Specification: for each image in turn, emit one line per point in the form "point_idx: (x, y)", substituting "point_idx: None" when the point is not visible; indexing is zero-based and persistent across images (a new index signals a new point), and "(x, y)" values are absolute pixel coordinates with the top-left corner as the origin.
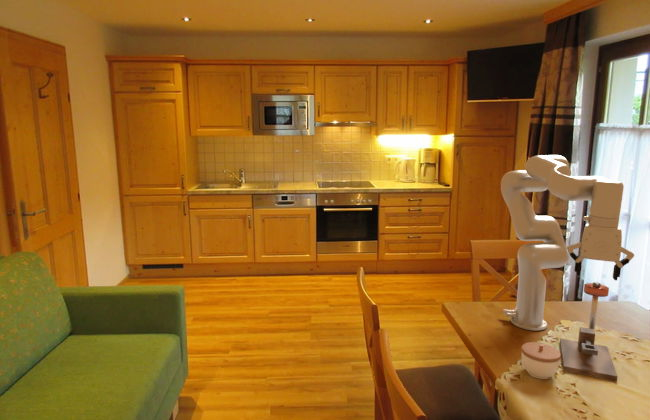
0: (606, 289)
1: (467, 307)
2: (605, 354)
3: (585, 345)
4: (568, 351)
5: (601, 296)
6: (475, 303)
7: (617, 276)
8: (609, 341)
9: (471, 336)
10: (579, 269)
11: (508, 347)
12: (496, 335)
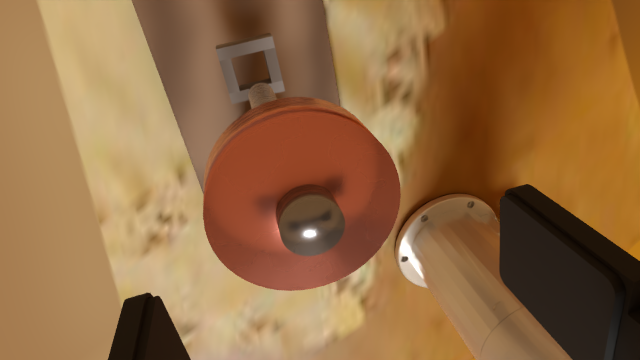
0: (219, 193)
1: (610, 231)
2: (205, 156)
3: (268, 82)
4: (317, 98)
5: (243, 115)
6: None
7: (116, 333)
8: (218, 278)
9: (607, 32)
10: (565, 225)
11: (494, 26)
12: (531, 94)
